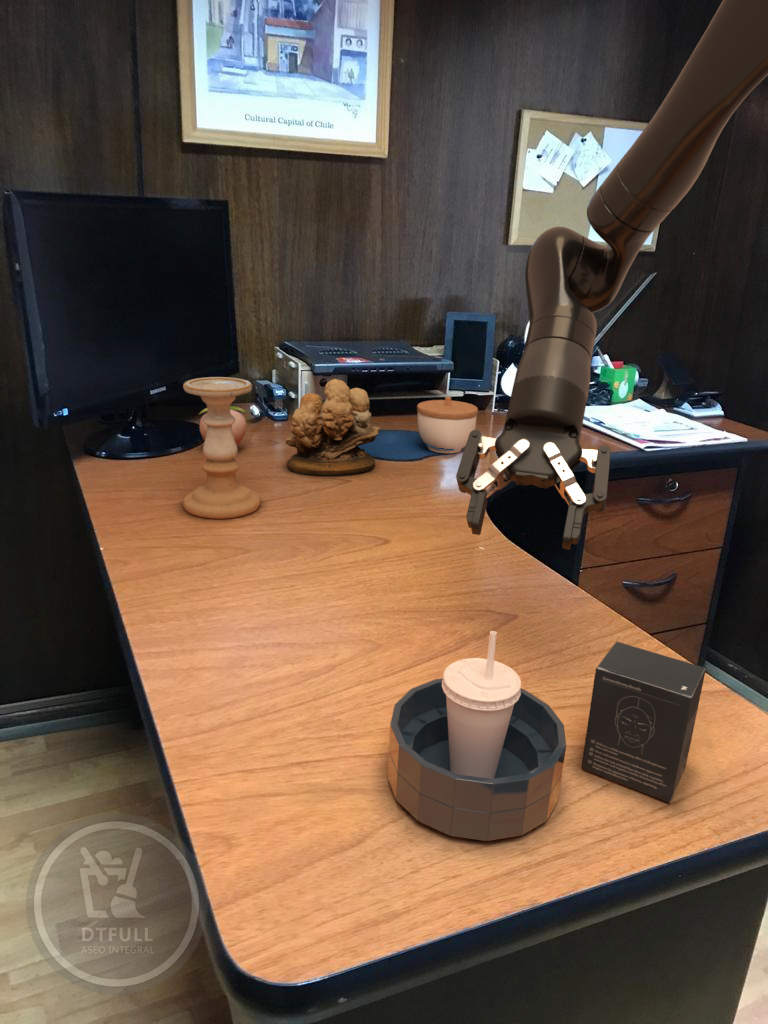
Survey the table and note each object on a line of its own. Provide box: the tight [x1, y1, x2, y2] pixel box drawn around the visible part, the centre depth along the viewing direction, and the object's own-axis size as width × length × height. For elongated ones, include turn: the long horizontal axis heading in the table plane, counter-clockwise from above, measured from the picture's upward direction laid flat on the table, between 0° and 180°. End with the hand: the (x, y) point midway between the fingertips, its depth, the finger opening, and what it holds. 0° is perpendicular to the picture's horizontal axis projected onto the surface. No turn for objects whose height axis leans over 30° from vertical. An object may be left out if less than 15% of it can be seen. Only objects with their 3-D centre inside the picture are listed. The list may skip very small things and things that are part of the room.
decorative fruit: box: [198, 405, 248, 445], centre depth 153 cm, size 9×8×10 cm
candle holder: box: [182, 376, 261, 520], centre depth 122 cm, size 12×12×20 cm
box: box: [581, 641, 707, 803], centre depth 67 cm, size 8×6×11 cm
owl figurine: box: [285, 378, 381, 477], centre depth 145 cm, size 18×12×17 cm, turn 106°
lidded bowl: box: [416, 396, 479, 454], centre depth 162 cm, size 13×13×11 cm
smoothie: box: [442, 630, 522, 779], centre depth 63 cm, size 6×6×14 cm
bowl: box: [386, 677, 567, 842], centre depth 65 cm, size 14×14×6 cm
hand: (520, 538), depth 72 cm, fingers open, 8 cm apart
